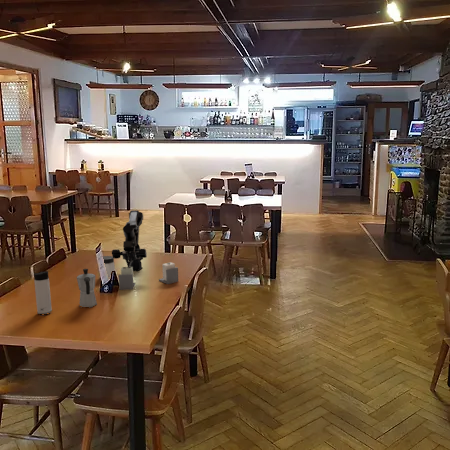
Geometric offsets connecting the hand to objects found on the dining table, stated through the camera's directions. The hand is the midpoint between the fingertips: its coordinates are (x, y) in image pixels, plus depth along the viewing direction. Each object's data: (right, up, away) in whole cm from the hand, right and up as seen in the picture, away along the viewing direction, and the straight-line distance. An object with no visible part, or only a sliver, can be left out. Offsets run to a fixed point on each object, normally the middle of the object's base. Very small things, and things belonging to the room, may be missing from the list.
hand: (128, 266), depth 262 cm
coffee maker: (-13, -16, -32) cm, 38 cm away
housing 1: (+1, -10, -5) cm, 12 cm away
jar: (-14, -8, +12) cm, 20 cm away
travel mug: (-31, -18, -41) cm, 54 cm away
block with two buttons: (0, -9, -4) cm, 10 cm away
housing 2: (+22, -8, +4) cm, 24 cm away
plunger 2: (+22, -7, +3) cm, 23 cm away
